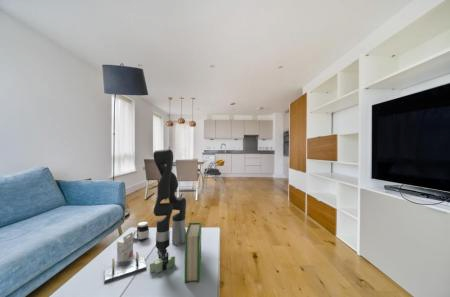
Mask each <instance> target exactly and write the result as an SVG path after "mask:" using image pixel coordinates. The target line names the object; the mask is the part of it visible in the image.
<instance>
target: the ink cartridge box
mask: <svg viewBox="0 0 450 297" xmlns="http://www.w3.org/2000/svg"><path fill="white" fill-rule="evenodd" d="M133 233H134V232H133V231H132V232H130V233H128V234H127V235H125V236H123V237H122V238H121V239H119V240H118V241H117V242H116V261H118V262H126V260H128V259H129V258H131V256H133V255H134V239H133Z"/></svg>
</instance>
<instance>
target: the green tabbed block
mask: <svg viewBox="0 0 450 297" xmlns="http://www.w3.org/2000/svg"><path fill="white" fill-rule="evenodd" d="M162 258H163V257H162ZM165 261H166V260H165ZM175 265H176V255H172V256H170V254H168V264H167V269H166V270H169V269H172V268H173V267H172V266H175ZM154 272H155V274H157V273H160V272H164V271H163V270H162V260H161V258H159V257H158V258H155V259H154V260H153V261H152V262H149V273H150V274H151V273H154Z"/></svg>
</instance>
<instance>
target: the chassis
mask: <svg viewBox="0 0 450 297" xmlns="http://www.w3.org/2000/svg"><path fill="white" fill-rule="evenodd" d="M111 262H112V263H111V265H108V266H106V267H104V269H103V270H104V284H107V283H110V282H112V281H117V280H119V279H121V278H122V279H123V278H125V277H127V276H131V275H135V274H136V273H139V272H143V271H146V270H147V265H146V262H145V260H144V257H143V256H140V255H139V251H136V252H135V258H133V259H129V260H127V261H126V260H125V261H122V262H120V263H116V262H115V258H112V261H111Z"/></svg>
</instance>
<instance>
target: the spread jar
mask: <svg viewBox="0 0 450 297" xmlns="http://www.w3.org/2000/svg"><path fill="white" fill-rule="evenodd" d="M148 223H149V222H147V221H142V222H141V221H140V222H139V223H138V224H137V226H136V229H135V230H134V232H133V240H134V238H135V236H136V239H137V241H145V240H147V239H148V238H149V237H150V228H149V225H148Z"/></svg>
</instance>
